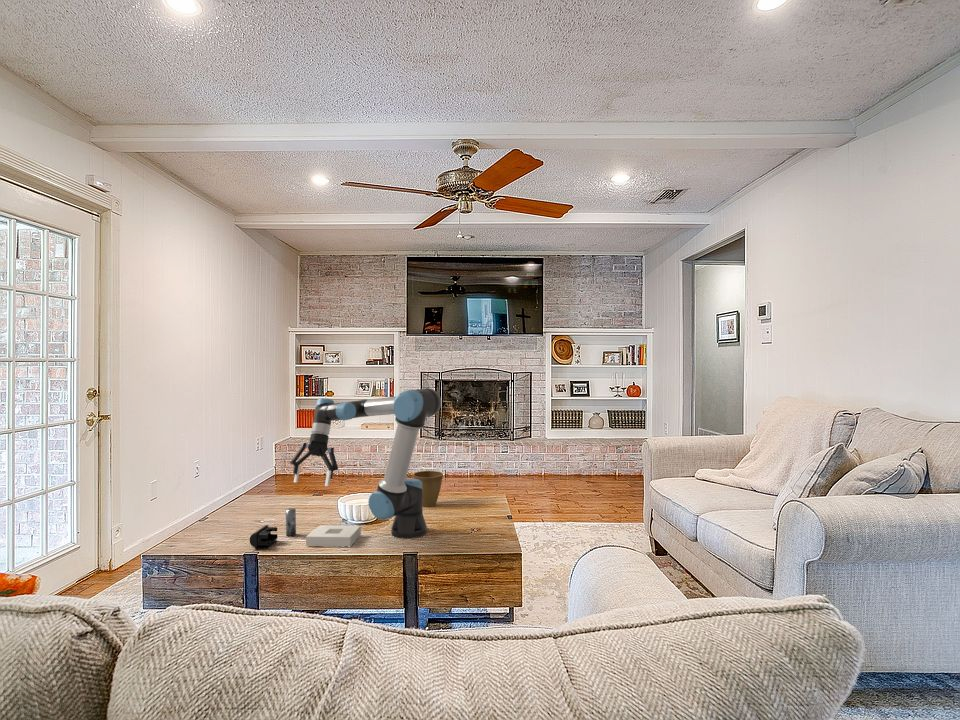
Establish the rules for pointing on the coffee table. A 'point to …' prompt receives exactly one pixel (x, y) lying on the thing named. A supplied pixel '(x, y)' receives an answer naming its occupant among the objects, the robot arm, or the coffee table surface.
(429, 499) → the plant pot
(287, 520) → the pin
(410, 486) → the robot arm
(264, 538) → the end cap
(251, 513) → the coffee table surface
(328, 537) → the socket block
